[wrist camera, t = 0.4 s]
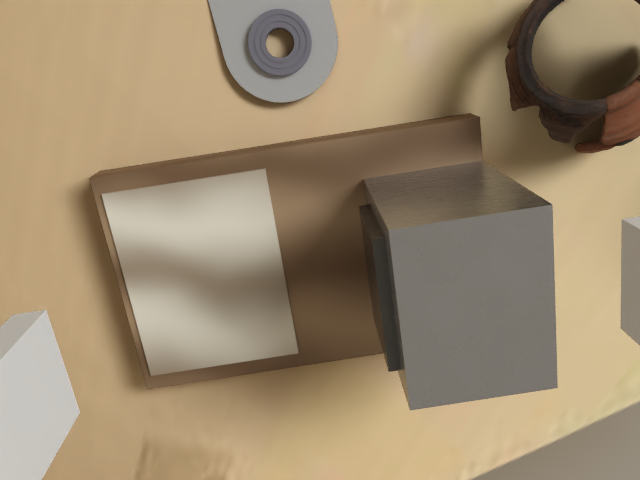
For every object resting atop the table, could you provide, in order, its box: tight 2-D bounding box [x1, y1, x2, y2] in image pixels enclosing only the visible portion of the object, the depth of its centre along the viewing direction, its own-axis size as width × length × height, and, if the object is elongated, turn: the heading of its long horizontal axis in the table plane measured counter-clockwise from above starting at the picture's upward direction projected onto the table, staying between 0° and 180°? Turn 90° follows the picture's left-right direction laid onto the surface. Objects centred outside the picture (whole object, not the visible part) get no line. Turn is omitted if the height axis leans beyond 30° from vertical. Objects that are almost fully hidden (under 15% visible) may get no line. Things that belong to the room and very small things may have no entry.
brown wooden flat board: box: [89, 113, 483, 389], centre depth 37 cm, size 14×22×2 cm, turn 99°
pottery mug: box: [505, 0, 640, 153], centre depth 33 cm, size 12×10×8 cm
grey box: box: [359, 160, 558, 410], centre depth 32 cm, size 9×8×10 cm
